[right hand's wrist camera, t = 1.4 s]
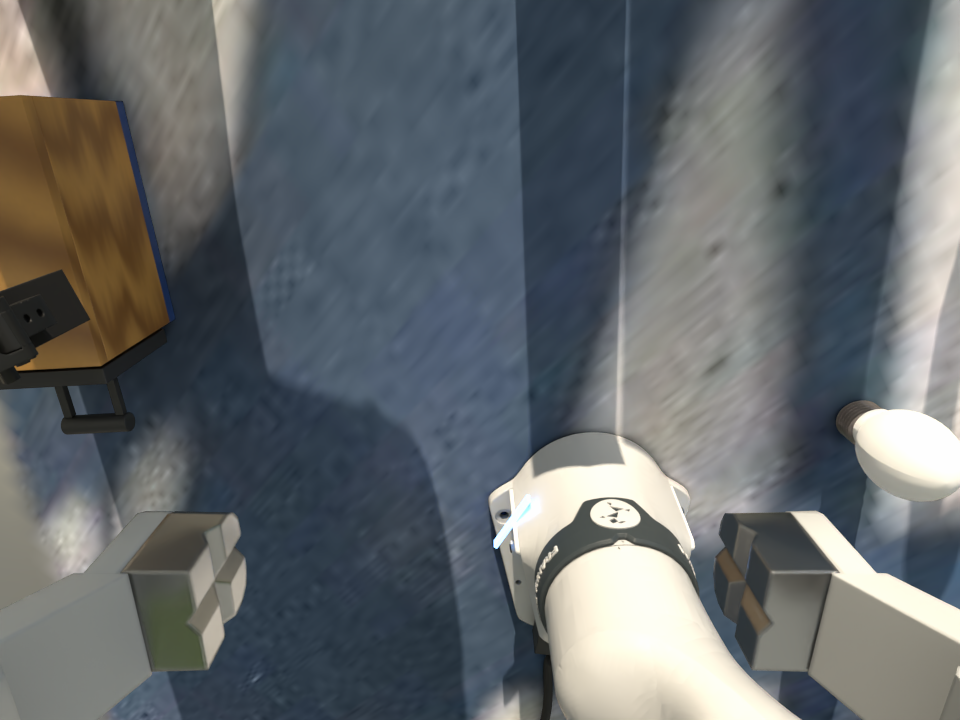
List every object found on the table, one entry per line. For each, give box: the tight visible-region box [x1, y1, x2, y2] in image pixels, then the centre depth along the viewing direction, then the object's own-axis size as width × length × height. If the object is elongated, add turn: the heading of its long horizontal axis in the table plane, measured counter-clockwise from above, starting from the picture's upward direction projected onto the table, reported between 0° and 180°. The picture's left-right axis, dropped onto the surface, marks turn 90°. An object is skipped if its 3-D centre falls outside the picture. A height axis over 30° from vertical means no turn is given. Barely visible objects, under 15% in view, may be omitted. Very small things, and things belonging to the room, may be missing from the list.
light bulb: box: [836, 401, 960, 502], centre depth 51 cm, size 7×7×11 cm
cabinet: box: [0, 95, 175, 371], centre depth 45 cm, size 17×10×11 cm, turn 3°
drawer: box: [0, 329, 167, 435], centre depth 46 cm, size 22×9×9 cm, turn 3°
